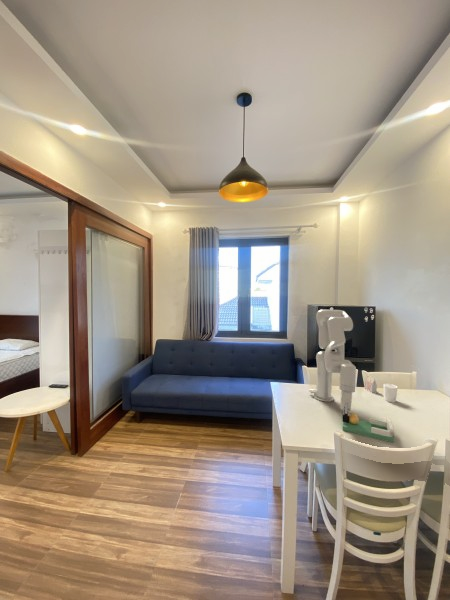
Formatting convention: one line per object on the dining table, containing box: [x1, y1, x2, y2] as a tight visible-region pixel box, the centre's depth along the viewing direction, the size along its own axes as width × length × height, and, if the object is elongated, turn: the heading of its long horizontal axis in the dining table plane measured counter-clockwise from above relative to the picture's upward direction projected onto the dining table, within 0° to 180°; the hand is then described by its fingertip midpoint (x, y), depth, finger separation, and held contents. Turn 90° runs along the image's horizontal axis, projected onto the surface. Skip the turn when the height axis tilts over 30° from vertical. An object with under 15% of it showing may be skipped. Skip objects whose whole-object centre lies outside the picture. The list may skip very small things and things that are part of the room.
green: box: [342, 417, 395, 443], centre depth 128 cm, size 22×12×6 cm, turn 64°
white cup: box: [382, 383, 398, 404], centre depth 165 cm, size 8×8×10 cm
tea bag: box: [364, 375, 378, 394], centre depth 180 cm, size 4×7×10 cm, turn 7°
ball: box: [349, 413, 360, 424], centre depth 131 cm, size 5×5×5 cm
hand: (345, 420), depth 132 cm, fingers open, 3 cm apart
